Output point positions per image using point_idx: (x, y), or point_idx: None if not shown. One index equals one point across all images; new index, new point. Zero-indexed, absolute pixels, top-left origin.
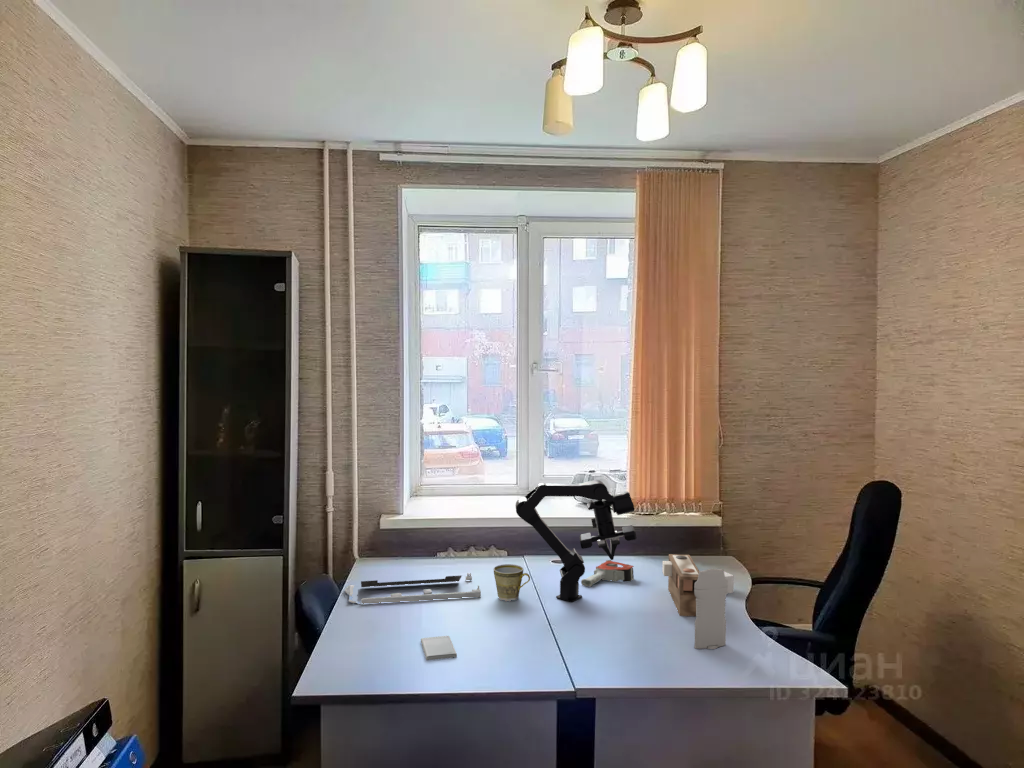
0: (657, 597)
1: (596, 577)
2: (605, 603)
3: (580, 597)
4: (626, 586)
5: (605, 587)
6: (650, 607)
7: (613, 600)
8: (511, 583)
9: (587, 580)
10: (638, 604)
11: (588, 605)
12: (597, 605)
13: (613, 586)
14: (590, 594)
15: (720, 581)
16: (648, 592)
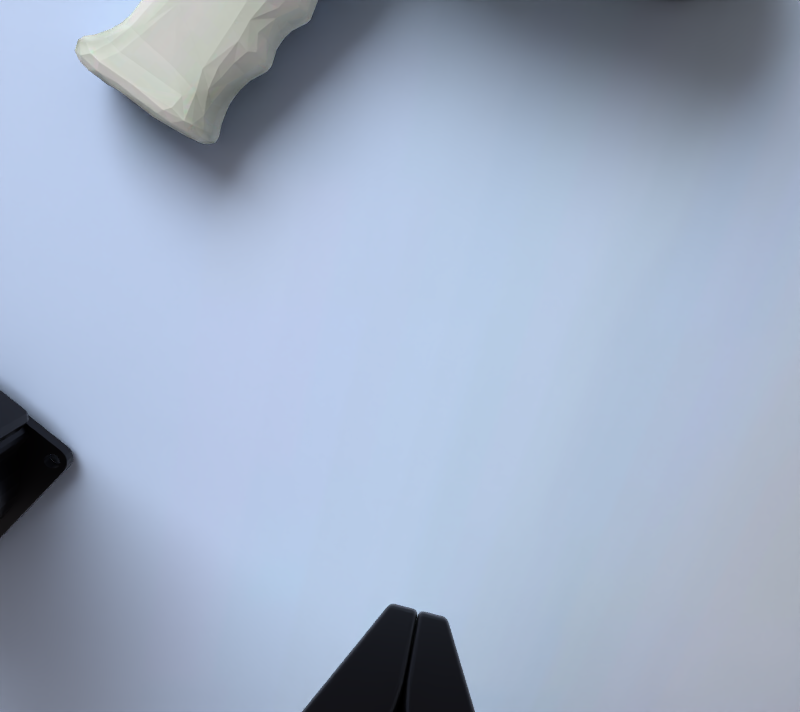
0: (778, 488)
1: (281, 9)
2: (277, 598)
3: (52, 483)
4: (610, 161)
5: (372, 173)
6: (623, 689)
7: (365, 536)
8: None
9: (144, 109)
10: (552, 629)
11: (118, 634)
12: (198, 636)
13: (469, 147)
14: (172, 373)
15: None
16: (757, 359)
